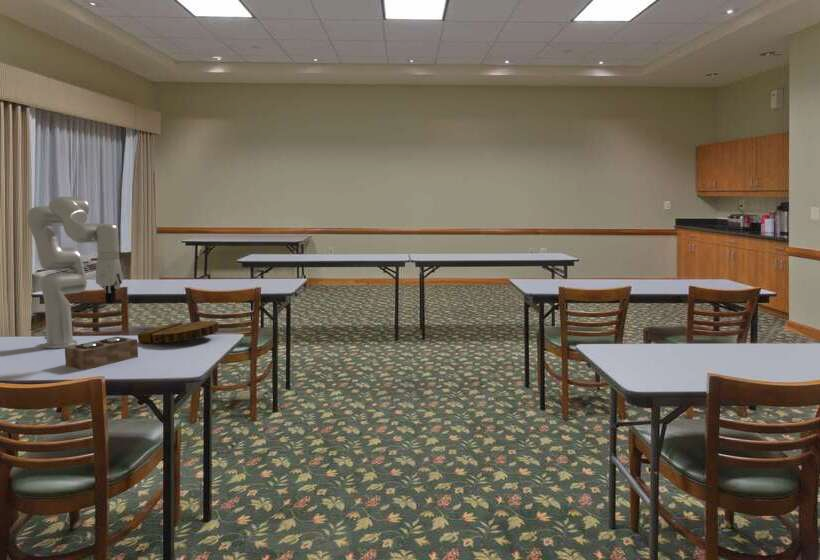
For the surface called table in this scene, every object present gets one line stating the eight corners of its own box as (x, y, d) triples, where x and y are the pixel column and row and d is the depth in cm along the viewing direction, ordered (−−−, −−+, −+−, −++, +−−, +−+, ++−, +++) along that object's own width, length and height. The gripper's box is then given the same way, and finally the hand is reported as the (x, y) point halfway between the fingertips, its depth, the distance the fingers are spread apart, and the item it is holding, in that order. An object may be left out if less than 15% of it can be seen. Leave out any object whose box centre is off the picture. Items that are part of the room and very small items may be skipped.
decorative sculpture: (134, 349, 254) (196, 345, 247) (132, 335, 253) (194, 330, 247) (175, 335, 283) (231, 331, 277) (173, 322, 282) (229, 317, 276)
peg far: (106, 358, 231) (104, 339, 230) (116, 356, 234) (115, 337, 234) (113, 359, 229) (112, 340, 228) (123, 357, 232) (122, 338, 232)
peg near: (81, 364, 222) (80, 344, 221) (92, 361, 226) (91, 342, 225) (89, 365, 220) (87, 346, 219) (99, 363, 224) (98, 343, 223)
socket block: (65, 365, 220) (64, 346, 219) (118, 353, 240) (117, 335, 239) (85, 369, 215) (84, 349, 214) (138, 356, 234) (137, 338, 233)
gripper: (87, 255, 227) (89, 302, 230) (112, 257, 221) (114, 305, 223) (105, 254, 234) (107, 299, 236) (129, 256, 227) (131, 303, 229)
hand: (110, 302), depth 230 cm, fingers closed
